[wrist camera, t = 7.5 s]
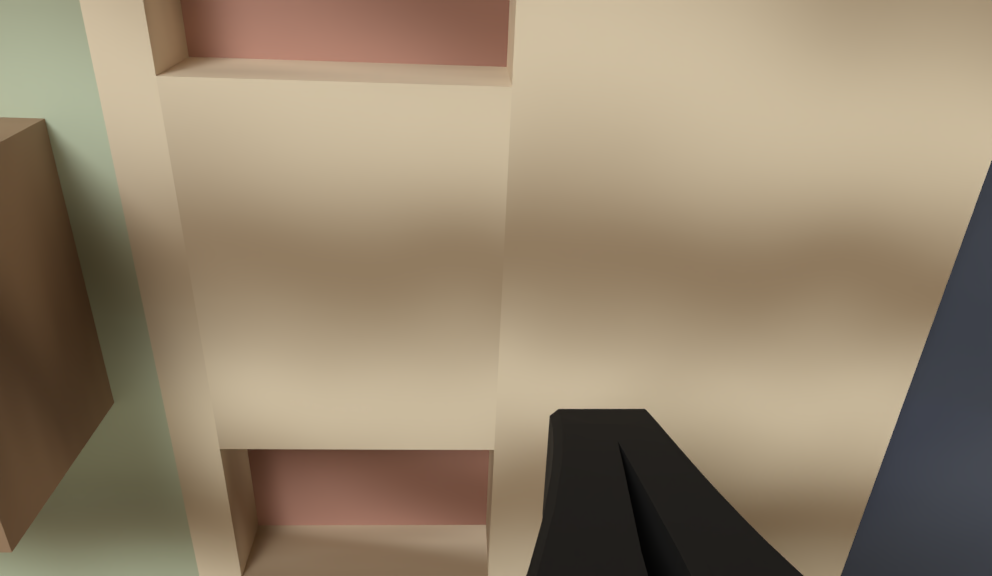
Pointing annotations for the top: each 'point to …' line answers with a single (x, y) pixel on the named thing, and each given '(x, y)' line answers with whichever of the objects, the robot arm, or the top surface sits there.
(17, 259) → the walnut block
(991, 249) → the top surface
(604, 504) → the robot arm
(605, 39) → the trap deck
